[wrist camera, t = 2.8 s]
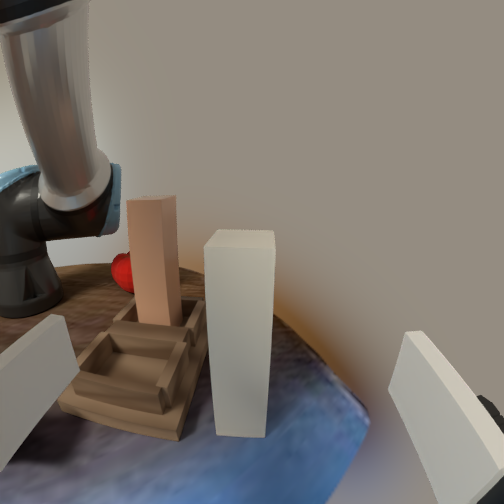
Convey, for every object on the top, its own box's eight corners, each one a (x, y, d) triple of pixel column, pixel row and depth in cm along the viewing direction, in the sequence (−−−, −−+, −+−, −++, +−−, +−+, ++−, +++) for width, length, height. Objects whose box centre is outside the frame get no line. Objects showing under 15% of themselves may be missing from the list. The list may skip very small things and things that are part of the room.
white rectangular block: (216, 435, 21) (203, 246, 16) (223, 396, 25) (217, 229, 21) (264, 437, 20) (275, 248, 16) (265, 398, 25) (273, 230, 21)
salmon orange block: (141, 335, 33) (126, 200, 28) (154, 317, 37) (144, 196, 33) (172, 339, 32) (161, 199, 28) (182, 319, 37) (175, 195, 33)
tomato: (125, 303, 44) (119, 265, 42) (108, 283, 52) (104, 250, 50) (176, 290, 50) (174, 254, 49) (152, 273, 58) (150, 242, 57)
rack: (178, 441, 20) (170, 410, 18) (62, 411, 20) (47, 379, 19) (217, 319, 41) (216, 293, 40) (139, 313, 41) (135, 288, 40)
